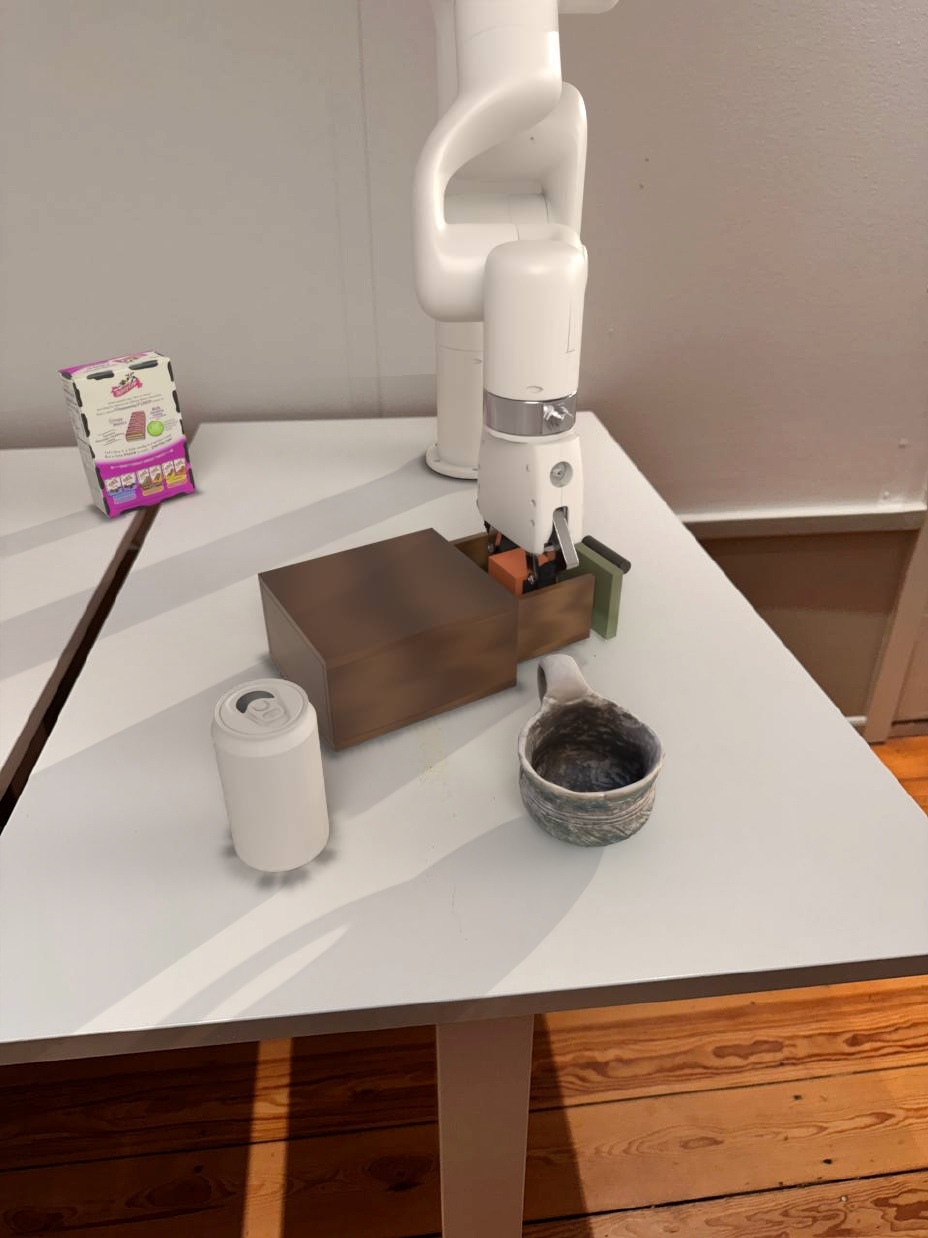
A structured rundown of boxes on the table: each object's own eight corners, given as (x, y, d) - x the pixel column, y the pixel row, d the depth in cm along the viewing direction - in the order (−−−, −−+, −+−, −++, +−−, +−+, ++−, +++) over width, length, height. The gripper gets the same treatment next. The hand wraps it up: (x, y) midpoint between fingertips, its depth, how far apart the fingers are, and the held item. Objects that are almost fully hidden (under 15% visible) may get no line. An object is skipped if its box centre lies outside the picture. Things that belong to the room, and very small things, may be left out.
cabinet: (433, 606, 85) (432, 527, 80) (516, 686, 75) (519, 599, 70) (269, 657, 78) (257, 573, 73) (335, 752, 68) (325, 661, 63)
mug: (558, 892, 56) (568, 776, 51) (471, 771, 66) (471, 662, 60) (680, 842, 60) (702, 728, 54) (581, 734, 69) (590, 628, 64)
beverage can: (294, 795, 64) (275, 660, 57) (349, 843, 60) (335, 705, 53) (217, 842, 60) (186, 704, 53) (270, 896, 56) (245, 754, 50)
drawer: (566, 561, 91) (571, 501, 87) (652, 623, 81) (661, 558, 77) (395, 614, 82) (392, 550, 79) (468, 689, 73) (468, 620, 69)
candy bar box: (178, 480, 110) (153, 348, 101) (197, 492, 107) (173, 357, 98) (90, 505, 104) (55, 367, 95) (107, 520, 101) (72, 378, 92)
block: (528, 586, 83) (530, 544, 81) (555, 608, 80) (558, 565, 77) (487, 599, 81) (488, 556, 79) (514, 622, 78) (515, 578, 75)
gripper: (633, 433, 66) (611, 635, 76) (511, 373, 78) (506, 554, 88) (551, 452, 63) (539, 660, 73) (437, 387, 75) (440, 573, 85)
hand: (521, 600), depth 80 cm, fingers closed on block, 4 cm apart
